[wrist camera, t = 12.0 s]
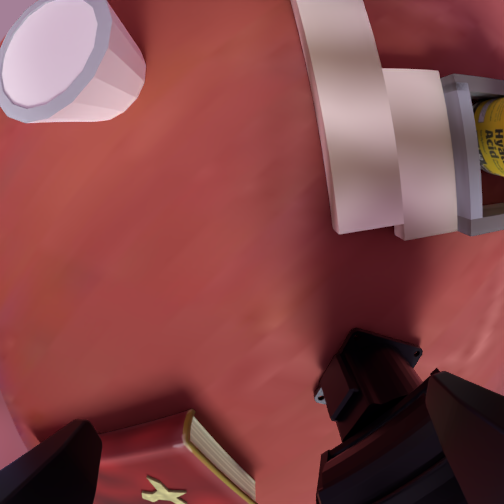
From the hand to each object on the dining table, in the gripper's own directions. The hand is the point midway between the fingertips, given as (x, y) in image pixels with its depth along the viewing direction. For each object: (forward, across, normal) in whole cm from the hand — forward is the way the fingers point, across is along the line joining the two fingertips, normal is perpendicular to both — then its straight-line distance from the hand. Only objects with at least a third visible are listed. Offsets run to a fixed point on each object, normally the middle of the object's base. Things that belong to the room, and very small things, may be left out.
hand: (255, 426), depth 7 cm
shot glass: (+13, +7, -13) cm, 20 cm away
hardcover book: (+14, +15, +20) cm, 28 cm away
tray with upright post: (+13, -14, -10) cm, 21 cm away
